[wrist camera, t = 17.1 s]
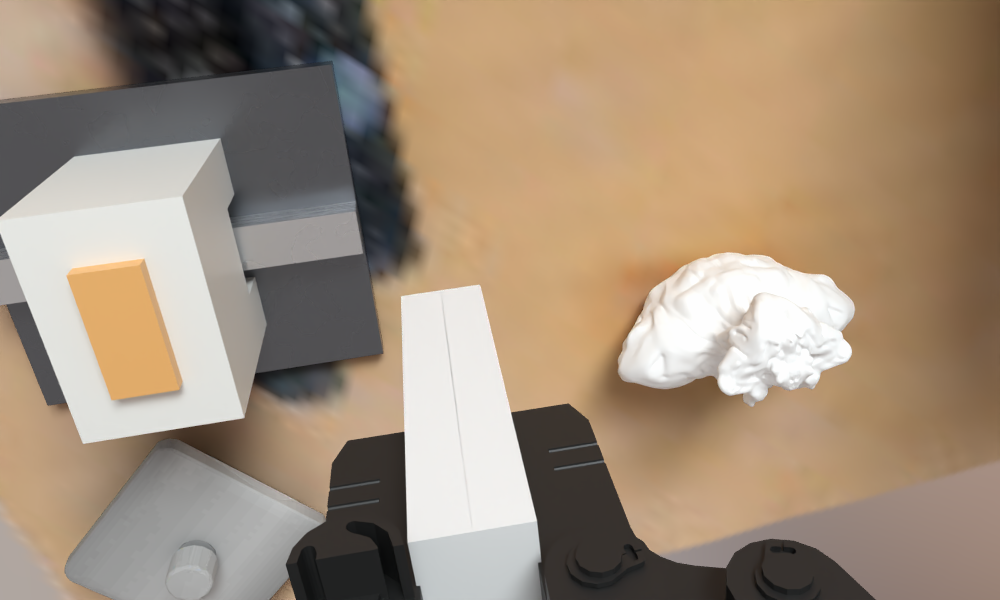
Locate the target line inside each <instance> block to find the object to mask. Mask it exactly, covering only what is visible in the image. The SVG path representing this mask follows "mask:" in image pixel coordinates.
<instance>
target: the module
mask: <svg viewBox="0 0 1000 600" xmlns="http://www.w3.org/2000/svg"><path fill="white" fill-rule="evenodd" d="M233 196H234V191H233V187H232V183H231V179H230V175H229V171H228V167H227V163H226V159H225V155H224V151H223V147H222V143H221V139H220V138H219V139H211V140H203V141H195V142H187V143H179V144H171V145H163V146H155V147H147V148H139V149H131V150H123V151H115V152H107V153H99V154H91V155H83V156H75V157H73V158H72V159H71V160H69V161H68V162H67V163H66V164H64V165H63V166H62V167H61V168H60V169H58V170H57V171H56V172H55V173H53V174H52V175H51V176H50V177H49V178H47V179H46V180H45V181H44V182H42V183H41V184H40V185H39V186H37V187H36V188H35V189H34V190H33V191H31V192H30V193H29V194H28V195H26V196H25V197H24V198H23V199H22V200H20V201H19V202H18V203H17V204H15V205H14V206H13V207H12V208H10V209H9V210H8V211H7V212H6V213H4V214H3V215H2V216H1V217H0V235H1V237H2V240H3V242H4V245H5V247H6V250H7V252H8V255H9V257H10V260H11V262H12V265H13V267H14V270H15V272H16V275H17V278H18V280H19V283H20V285H21V288H22V290H23V293H24V295H25V298H26V300H27V303H28V305H29V308H30V310H31V313H32V316H33V318H34V321H35V323H36V326H37V328H38V331H39V333H40V336H41V338H42V341H43V343H44V346H45V348H46V351H47V354H48V356H49V359H50V361H51V364H52V366H53V369H54V371H55V374H56V376H57V379H58V381H59V384H60V386H61V389H62V392H63V394H64V397H65V399H66V402H67V404H68V407H69V409H70V412H71V414H72V417H73V419H74V422H75V424H76V427H77V429H78V432H79V435H80V437H81V440H82V442H83V444H85V443H92V442H98V441H104V440H110V439H117V438H123V437H129V436H135V435H142V434H148V433H154V432H160V431H167V430H173V429H179V428H185V427H192V426H198V425H204V424H210V423H217V422H223V421H229V420H235V419H241V418H244V417H245V413H246V409H247V405H248V401H249V396H250V392H251V388H252V384H253V380H254V375H255V371H256V367H257V363H258V359H259V354H260V350H261V346H262V342H263V338H264V333H265V329H266V325H267V323H266V319H265V315H264V311H263V307H262V303H261V299H260V295H259V291H258V287H257V283H256V279H255V277H249V278H245V276H244V272H243V268H242V264H241V260H240V256H239V252H238V249H237V245H236V241H235V237H234V233H233V229H232V225H231V221H230V217H229V213H228V206H229V204H230V202H231V200H232V198H233Z"/></svg>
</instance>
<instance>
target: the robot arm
mask: <svg viewBox="0 0 1000 600" xmlns="http://www.w3.org/2000/svg"><path fill="white" fill-rule="evenodd" d="M401 310H402V349H403V387H404V425H405V432H400V433H394V434H388V435H381V436H375V437H369V438H363V439H356V440H350V441H347V443H346V444H345V445H344V447H343V448H342V450H341V451H340V453H339V454H338V456H337V457H336V459H335V460H334V461H333V463H332V469H331V479H330V492H329V497H328V511H327V516H326V522H324V523H322V524H321V525H319V526H317V527H316V528H314V529H312V530H310V531H309V532H307V533H306V534H305V535H304V536H303V537H302V538H301V539H300V540H299V541H298V543H297V544H296V545H295V546H294V547H293V548H292V550H291V553H290V555H289V557H288V560H287V562H286V568H287V571H288V575H289V578H290V581H291V585H292V588H293V591H294V594H295V598H296V600H875V599H874V598H873V597H872V596H871V595H870V594H869V593H868V592H867V591H866V590H865V589H864V588H862V586H860V585H859V584H858V583H857V582H856V581H855V580H854V579H853V578H852V577H851V576H850V575H849V574H848V573H847V572H846V571H845V570H843V569H842V568H841V567H840V566H839V565H838V564H837V563H836V562H835V561H833V560H832V559H830V558H829V557H828V556H826V555H824V554H823V553H822V552H820V551H819V550H817V549H816V548H813V547H810V546H807V545H804V544H801V543H799V542H796V541H790V540H777V539H769V540H763V541H759V542H754V543H750V544H748V545H747V546H745V547H743V548H742V549H740V550H739V551H737V552H735V553H734V555H733V557H732V558H731V560H730V562H729V564H728V565H727V567H726V568H715V567H704V566H693V565H687V564H681V563H676V562H673V561H671V560H668V559H665V558H663V557H660V556H659V555H657V554H655V553H654V552H652V551H650V550H649V549H648V547H647V546H646V544H645V543H644V542H643V541H642V540H640V539H638V538H637V537H636V536H635V534H634V533H633V531H632V529H631V527H630V525H629V522H628V520H627V517H626V515H625V512H624V510H623V507H622V504H621V502H620V499H619V497H618V494H617V492H616V489H615V487H614V484H613V481H612V479H611V476H610V474H609V471H608V469H607V466H606V464H605V463H604V458H603V456H602V453H601V451H600V448H599V446H598V445H597V441H596V438H595V435H594V433H593V430H592V428H591V425H590V423H589V420H588V419H587V418H585V417H584V416H583V415H582V414H581V413H579V412H578V411H577V410H576V409H574V408H573V407H572V406H571V405H570V404H562V405H556V406H550V407H543V408H537V409H531V410H525V411H518V412H512V413H511V411H510V407H509V403H508V399H507V395H506V390H505V386H504V382H503V378H502V374H501V370H500V366H499V361H498V357H497V353H496V349H495V345H494V341H493V337H492V332H491V328H490V324H489V320H488V316H487V312H486V308H485V303H484V299H483V295H482V291H481V287H480V285H474V286H467V287H461V288H454V289H447V290H440V291H434V292H427V293H420V294H413V295H407V296H401Z"/></svg>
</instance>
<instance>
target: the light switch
mask: <svg viewBox="0 0 1000 600" xmlns="http://www.w3.org/2000/svg"><path fill="white" fill-rule="evenodd" d="M324 522H326V519H325V517H324V515H323V514H321V513H319V512H317V511H315V510H313V509H311V508H309V507H307V506H305V505H304V504H302V503H300V502H298V501H296V500H294V499H292V498H291V497H289V496H287V495H285V494H283V493H281V492H279V491H277V490H275V489H273V488H271V487H269V486H267V485H265V484H263V483H261V482H260V481H258V480H256V479H254V478H252V477H250V476H248V475H246V474H244V473H242V472H240V471H238V470H236V469H234V468H232V467H230V466H229V465H227V464H225V463H223V462H221V461H219V460H217V459H215V458H213V457H211V456H209V455H207V454H205V453H203V452H201V451H199V450H197V449H195V448H193V447H191V446H189V445H188V444H186V443H184V442H182V441H180V440H176V439H166V440H163V441H160V442H158V443H157V444H156V446H155V447H154V448H153V449H152V451H151V452H150V453H149V454H148V456H147V457H146V458H145V460H144V461H143V462H142V463H141V465H140V466H139V467H138V469H137V470H136V471H135V472H134V474H133V475H132V476H131V478H130V479H129V480H128V481H127V483H126V484H125V485H124V487H123V488H122V489H121V490H120V492H119V493H118V494H117V495H116V497H115V498H114V499H113V501H112V502H111V503H110V504H109V506H108V507H107V508H106V510H105V511H104V512H103V513H102V515H101V516H100V517H99V519H98V520H97V521H96V522H95V524H94V525H93V526H92V527H91V529H90V530H89V531H88V533H87V534H86V535H85V536H84V538H83V539H82V540H81V542H80V543H79V544H78V545H77V547H76V548H75V549H74V551H73V552H72V553H71V554H70V556H69V558H68V560H67V563H66V565H65V574H66V576H67V578H68V579H69V580H70V581H72V582H74V583H76V584H79V585H81V586H83V587H86V588H88V589H90V590H92V591H95V592H97V593H99V594H102V595H104V596H107V597H109V598H111V599H114V600H270V599H271V598H272V596H273V595H274V594H275V593H276V592H277V591H278V590H279V589H280V587H281V586H282V585H283V584H284V583H285V582H286V581H287V580H288V578H289V575H288V571H287V568H286V562H287V560H288V557H289V555H290V553H291V550H292V548H293V547H294V546H295V545H296V544H297V543H298V541H299V540H300V539H301V538H302V537H303V536H304V535H305V534H306V533H307V532H309V531H310V530H312V529H314V528H316V527H317V526H319V525H321V524H322V523H324Z"/></svg>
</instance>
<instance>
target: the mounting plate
mask: <svg viewBox="0 0 1000 600" xmlns="http://www.w3.org/2000/svg"><path fill="white" fill-rule="evenodd" d="M219 138H220V139H221V143H222V147H223V151H224V155H225V159H226V163H227V167H228V171H229V175H230V179H231V183H232V187H233V191H234V196H233V198H232V200H231V202H230V204H229V206H228V213H229V217H230V221H231V225H232V229H233V233H234V237H235V241H236V245H237V249H238V252H239V256H240V260H241V264H242V268H243V272H244V276H245V278H249V277H255V279H256V283H257V287H258V291H259V295H260V299H261V303H262V307H263V311H264V315H265V319H266V323H267V325H266V329H265V333H264V338H263V342H262V346H261V350H260V354H259V359H258V363H257V367H256V371H255V373H260V372H267V371H273V370H280V369H286V368H293V367H299V366H305V365H312V364H318V363H325V362H331V361H338V360H344V359H350V358H357V357H363V356H370V355H376V354H383V342H382V337H381V331H380V326H379V320H378V314H377V309H376V303H375V298H374V292H373V286H372V281H371V275H370V270H369V264H368V258H367V253H366V247H365V242H364V236H363V230H362V225H361V219H360V214H359V208H358V202H357V197H356V191H355V186H354V180H353V174H352V169H351V163H350V158H349V152H348V147H347V141H346V135H345V130H344V124H343V119H342V113H341V107H340V102H339V96H338V91H337V85H336V79H335V74H334V68H333V63H332V61H327V62H318V63H310V64H301V65H293V66H284V67H276V68H267V69H259V70H250V71H242V72H233V73H225V74H216V75H208V76H199V77H191V78H182V79H174V80H165V81H157V82H148V83H140V84H131V85H123V86H114V87H106V88H98V89H89V90H81V91H72V92H64V93H55V94H47V95H38V96H30V97H21V98H13V99H4V100H0V217H1V216H2V215H3V214H4V213H6V212H7V211H8V210H9V209H10V208H12V207H13V206H14V205H15V204H17V203H18V202H19V201H20V200H22V199H23V198H24V197H25V196H26V195H28V194H29V193H30V192H31V191H33V190H34V189H35V188H36V187H37V186H39V185H40V184H41V183H42V182H44V181H45V180H46V179H47V178H49V177H50V176H51V175H52V174H53V173H55V172H56V171H57V170H58V169H60V168H61V167H62V166H63V165H64V164H66V163H67V162H68V161H69V160H71V159H72V158H73V157H75V156H83V155H91V154H99V153H107V152H115V151H123V150H131V149H139V148H147V147H155V146H163V145H171V144H179V143H187V142H195V141H203V140H211V139H219ZM0 305H7V307H8V310H9V312H10V315H11V317H12V319H13V322H14V324H15V327H16V329H17V332H18V334H19V337H20V339H21V341H22V344H23V346H24V349H25V351H26V354H27V356H28V359H29V361H30V363H31V366H32V368H33V371H34V373H35V376H36V378H37V381H38V383H39V385H40V388H41V390H42V393H43V395H44V398H45V400H46V403H47V405H54V404H61V403H67V402H66V399H65V397H64V394H63V392H62V389H61V386H60V384H59V381H58V379H57V376H56V374H55V371H54V369H53V366H52V364H51V361H50V359H49V356H48V354H47V351H46V348H45V346H44V343H43V341H42V338H41V336H40V333H39V331H38V328H37V326H36V323H35V321H34V318H33V316H32V313H31V310H30V308H29V305H28V303H27V300H26V298H25V295H24V293H23V290H22V288H21V285H20V283H19V280H18V278H17V275H16V272H15V270H14V267H13V265H12V262H11V260H10V257H9V255H8V252H7V250H6V247H5V245H4V242H3V240H2V237H1V235H0Z"/></svg>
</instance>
